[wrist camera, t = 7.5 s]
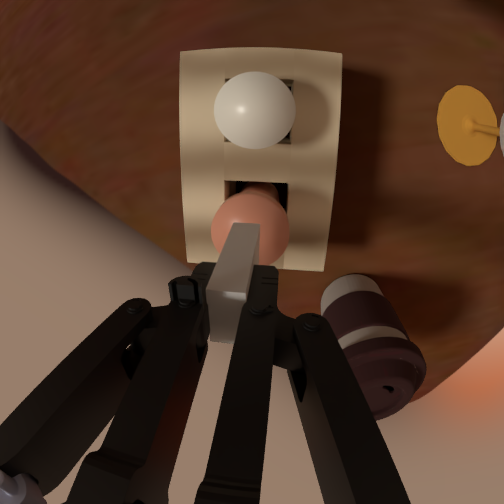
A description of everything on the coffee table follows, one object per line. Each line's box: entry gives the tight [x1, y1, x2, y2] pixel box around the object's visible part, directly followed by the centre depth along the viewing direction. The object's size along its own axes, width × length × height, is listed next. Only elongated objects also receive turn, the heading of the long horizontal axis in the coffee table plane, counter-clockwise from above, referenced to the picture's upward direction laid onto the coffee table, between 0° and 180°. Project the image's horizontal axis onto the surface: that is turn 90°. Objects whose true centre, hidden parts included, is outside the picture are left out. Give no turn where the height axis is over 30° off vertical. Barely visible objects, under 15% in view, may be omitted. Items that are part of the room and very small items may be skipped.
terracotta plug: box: [211, 181, 289, 265], centre depth 23 cm, size 5×5×8 cm
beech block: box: [179, 47, 342, 271], centre depth 24 cm, size 18×12×6 cm, turn 179°
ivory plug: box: [214, 72, 296, 149], centre depth 21 cm, size 5×5×8 cm
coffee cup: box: [321, 274, 426, 421], centre depth 27 cm, size 10×10×15 cm
